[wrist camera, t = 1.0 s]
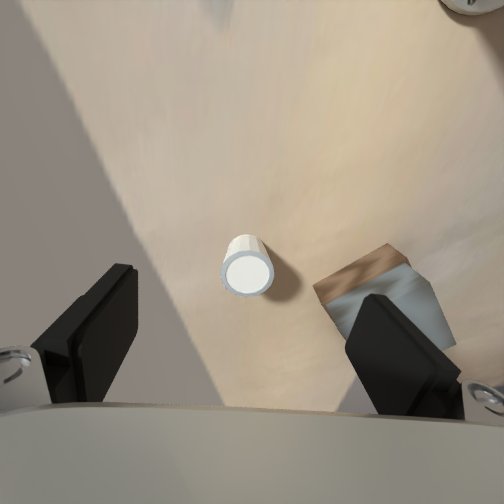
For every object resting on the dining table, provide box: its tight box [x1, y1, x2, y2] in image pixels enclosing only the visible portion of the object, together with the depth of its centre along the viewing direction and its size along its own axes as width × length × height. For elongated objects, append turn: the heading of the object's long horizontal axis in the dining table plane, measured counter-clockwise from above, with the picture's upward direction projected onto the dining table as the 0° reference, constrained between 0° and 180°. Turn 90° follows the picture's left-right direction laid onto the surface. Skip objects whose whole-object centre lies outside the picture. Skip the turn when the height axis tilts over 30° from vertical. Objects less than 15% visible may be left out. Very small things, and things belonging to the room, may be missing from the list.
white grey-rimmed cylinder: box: [220, 234, 274, 297], centre depth 35 cm, size 7×7×7 cm
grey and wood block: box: [313, 243, 456, 351], centre depth 38 cm, size 13×13×10 cm
